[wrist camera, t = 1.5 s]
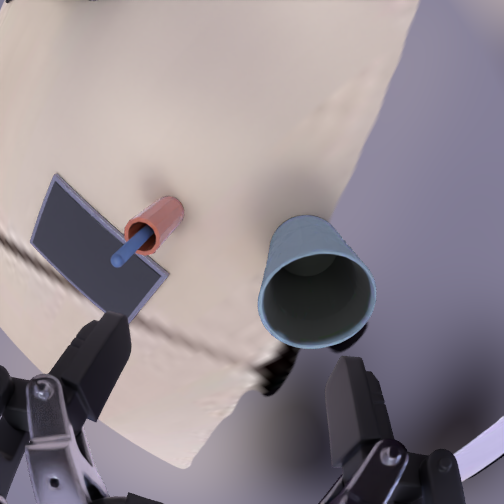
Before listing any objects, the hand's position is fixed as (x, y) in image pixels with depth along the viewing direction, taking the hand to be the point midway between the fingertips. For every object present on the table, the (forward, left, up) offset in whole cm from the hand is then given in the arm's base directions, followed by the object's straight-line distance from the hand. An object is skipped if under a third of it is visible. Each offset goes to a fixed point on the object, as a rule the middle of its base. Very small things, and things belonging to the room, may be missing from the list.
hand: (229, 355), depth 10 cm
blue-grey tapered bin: (+8, -1, -24) cm, 26 cm away
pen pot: (-7, -9, -24) cm, 27 cm away
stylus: (-7, -9, -24) cm, 26 cm away
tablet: (-13, -23, -24) cm, 36 cm away
